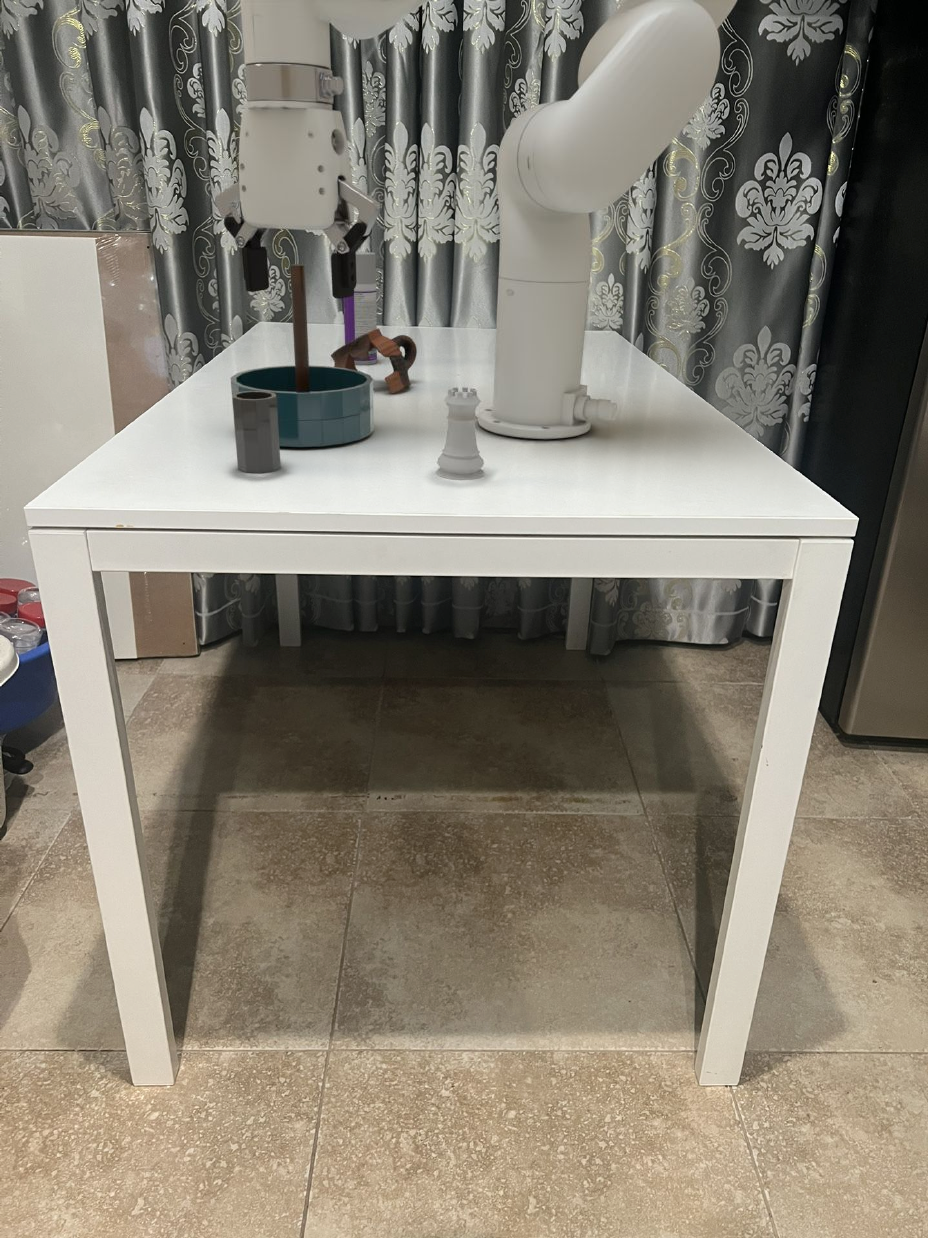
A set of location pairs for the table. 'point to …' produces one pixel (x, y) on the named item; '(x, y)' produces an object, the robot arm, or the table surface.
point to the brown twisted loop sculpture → (387, 348)
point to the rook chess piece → (461, 437)
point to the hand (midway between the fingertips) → (300, 293)
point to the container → (362, 304)
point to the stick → (300, 327)
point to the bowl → (315, 403)
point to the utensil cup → (256, 431)
